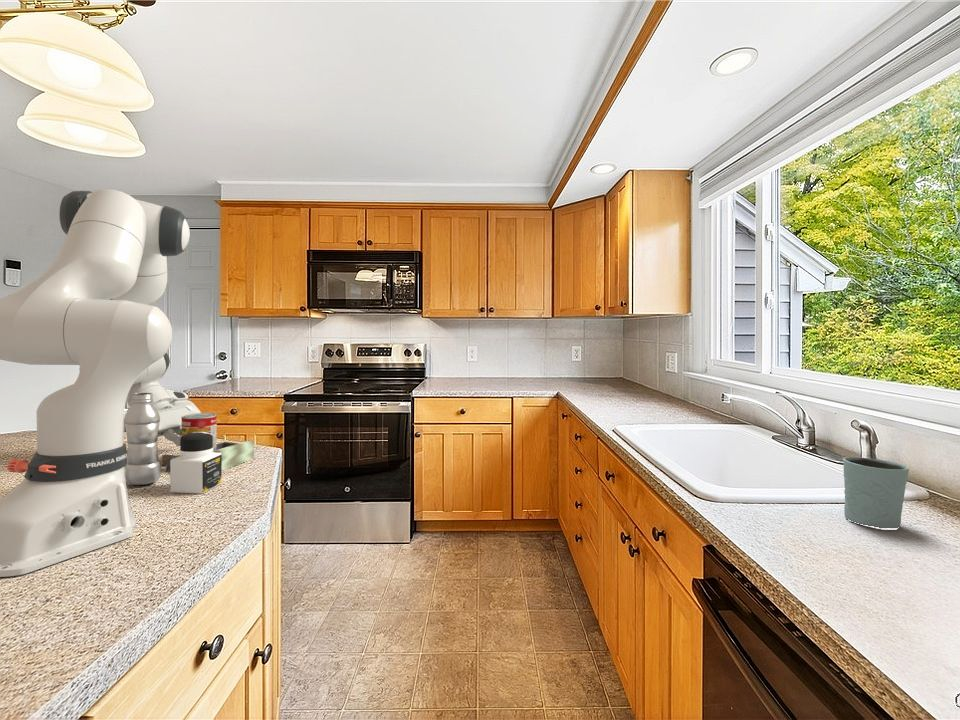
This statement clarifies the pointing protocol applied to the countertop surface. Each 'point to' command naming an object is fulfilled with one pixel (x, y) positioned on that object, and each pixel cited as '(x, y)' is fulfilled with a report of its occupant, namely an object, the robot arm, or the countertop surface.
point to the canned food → (200, 425)
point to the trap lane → (225, 454)
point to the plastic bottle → (142, 441)
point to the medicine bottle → (196, 465)
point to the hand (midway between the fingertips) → (184, 443)
